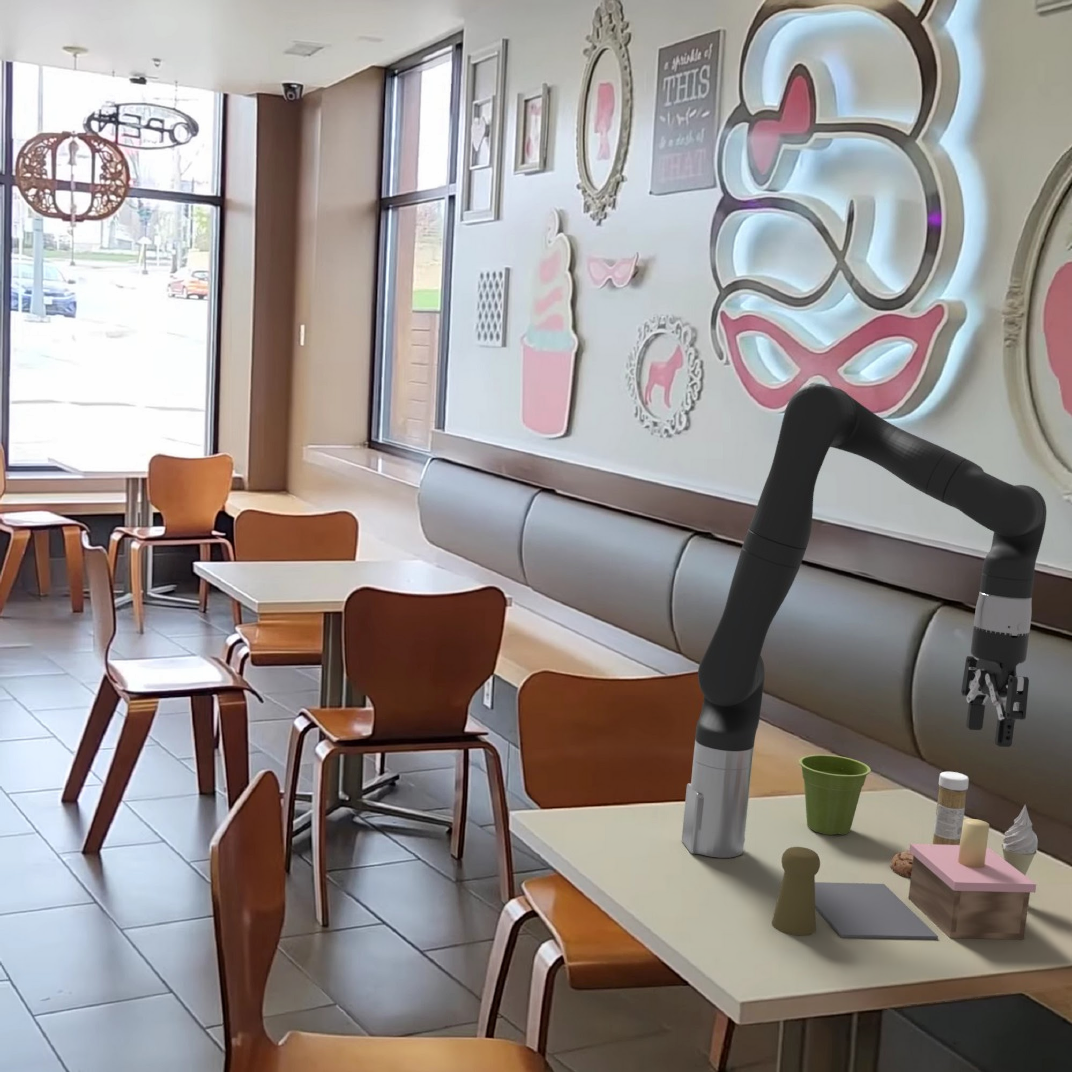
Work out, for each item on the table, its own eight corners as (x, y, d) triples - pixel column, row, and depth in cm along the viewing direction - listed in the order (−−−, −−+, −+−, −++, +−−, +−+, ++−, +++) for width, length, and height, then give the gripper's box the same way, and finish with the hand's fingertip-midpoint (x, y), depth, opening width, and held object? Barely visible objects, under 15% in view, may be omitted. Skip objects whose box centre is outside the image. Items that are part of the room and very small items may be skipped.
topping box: (949, 937, 192) (955, 889, 191) (908, 898, 205) (913, 852, 204) (1023, 939, 193) (1030, 891, 192) (977, 899, 207) (983, 854, 206)
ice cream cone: (1013, 908, 205) (1025, 810, 203) (987, 896, 209) (999, 799, 207) (1037, 905, 207) (1050, 808, 205) (1011, 892, 211) (1023, 797, 209)
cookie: (877, 864, 220) (879, 846, 219) (931, 860, 224) (933, 842, 224) (917, 888, 211) (920, 869, 210) (972, 883, 215) (975, 864, 215)
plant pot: (790, 813, 241) (797, 751, 240) (860, 822, 240) (867, 759, 238) (793, 836, 229) (800, 770, 228) (866, 844, 228) (874, 778, 227)
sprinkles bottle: (941, 847, 229) (950, 769, 228) (965, 856, 226) (974, 777, 224) (924, 852, 226) (934, 772, 225) (948, 861, 223) (958, 780, 221)
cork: (806, 939, 187) (815, 861, 186) (764, 926, 190) (773, 849, 189) (822, 925, 192) (830, 849, 191) (781, 913, 195) (789, 838, 194)
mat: (840, 937, 189) (841, 934, 189) (795, 884, 207) (795, 881, 207) (937, 939, 191) (937, 936, 191) (883, 886, 209) (884, 883, 209)
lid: (953, 897, 190) (960, 840, 189) (908, 858, 205) (914, 804, 204) (1034, 899, 192) (1041, 842, 191) (984, 860, 207) (991, 807, 206)
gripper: (953, 615, 202) (941, 723, 204) (1002, 635, 188) (988, 751, 190) (1001, 617, 203) (988, 725, 205) (1052, 637, 189) (1038, 752, 191)
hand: (988, 737), depth 198 cm, fingers open, 8 cm apart
